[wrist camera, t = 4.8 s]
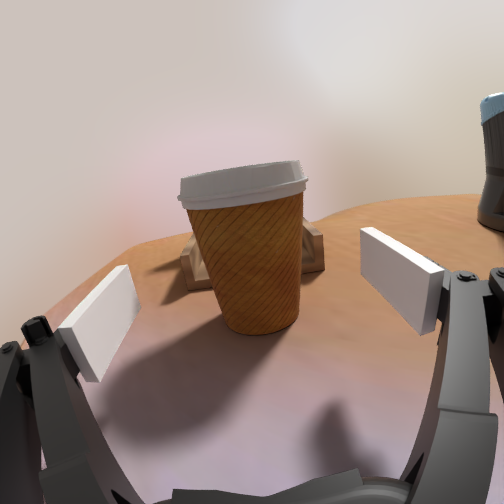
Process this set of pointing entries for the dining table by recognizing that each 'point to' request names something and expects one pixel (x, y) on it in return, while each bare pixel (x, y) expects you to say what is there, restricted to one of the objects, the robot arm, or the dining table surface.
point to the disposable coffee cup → (250, 241)
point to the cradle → (199, 276)
